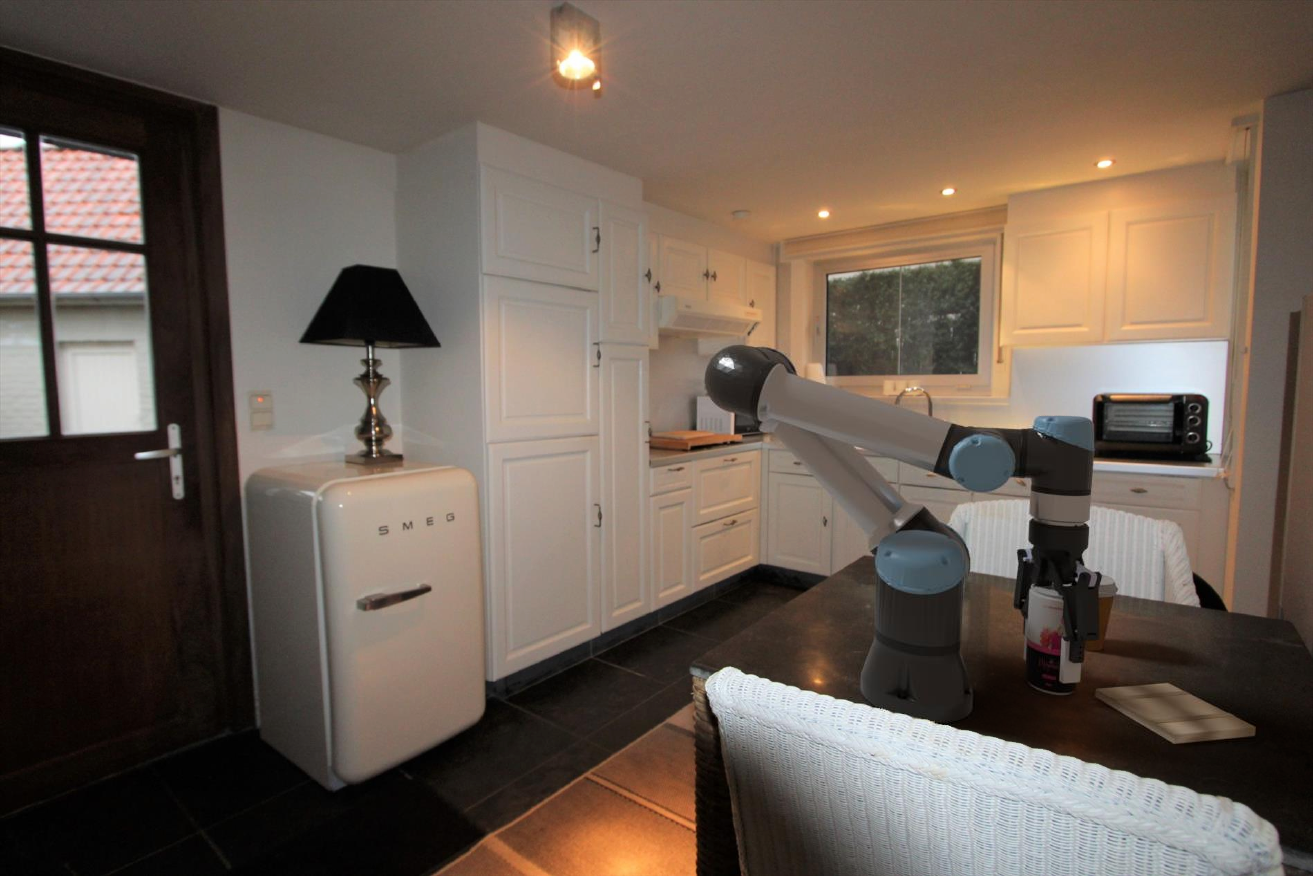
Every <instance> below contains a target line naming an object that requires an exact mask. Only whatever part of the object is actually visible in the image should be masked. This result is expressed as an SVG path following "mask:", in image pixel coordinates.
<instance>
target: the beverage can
mask: <svg viewBox="0 0 1313 876" xmlns="http://www.w3.org/2000/svg"><path fill="white" fill-rule="evenodd" d="M1063 586H1064V585H1063ZM1062 598H1063V596H1060V595H1059V594H1058V592H1056V591H1055V589H1054V585H1053V583H1052V585H1051V586H1043V587H1036V586H1035V584H1032V585H1031V589H1030V590H1029V607H1028V627H1027V646H1026V660H1025V667H1024V670H1025V671H1024V679H1025V681H1026V682H1027V683H1028V684H1029V686H1031V687H1032V688H1034V689H1036V690H1038V691H1040V692H1042V693H1046V694H1049V695H1055V696H1067V695H1070V694H1072V693H1074V692H1075V691H1076V690H1077V682H1074V683H1062V682H1060V681H1059V677H1060V659H1061V641H1062V637H1067V635H1066V630H1065V625H1064V620H1063V603H1064V601H1063V599H1062ZM1075 632H1077V630H1076V631H1075Z"/></svg>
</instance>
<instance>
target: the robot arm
mask: <svg viewBox="0 0 1313 876" xmlns="http://www.w3.org/2000/svg"><path fill="white" fill-rule="evenodd" d="M797 372H798V371H797V369H796V367H795V365H794V364H793V362H792V361H791V360H790V358H788V356H786V355H785V354H783V353H782V352H781V351H778V350H777V349H776V348H775V349H774V348H771V347H769V346H768V347H767V346H753V345H752V346H751V345H746V344H745V345H744V344H734V345H733V344H732V345H729V346H726V347H724V348H722V349H721V350H719V351H717V353H715V354H714V356H712V358H711V359H710V360H709V363H708V364H707V366H706V369H705V373H704V387H705V390H706V392H707V396H708V398H709V399H710V400H711V402H713V404H714V405H715V406H717V407H718V408H719V409H721V410H723V411H725V412H728V413H732V414H736V415H741V416H743V417H746V418H747V419H748V420H750V421H751V423H752V424H753V425H754V426H755V427H756V428H757V429H758V431H759V432H761V433H763V432H764V433H765V432H766V433H772V434H774V436H776V437H777V438H778V440H779V441H780V442H781V443H782V444H783V445H784V446H785V448H787V450H789V452H791V454H792V455H793V456H794V457H795V459H797V460H798V461H799V462H800V463H801V465H802V466H803V467H804V468H805V469H806V470H807V471H808V473H809V474H811V476H812V477H814V479H815V480H816V481H817V482H818V483H819V484H820V485H821V486H822V487H823V489H824V490H825V491H826V492H827V493H828V494H829V495H830V496H831V497H832V499H833V500H835V502H836V503H837V504H838V505H839V506H840V508H842V510H843V511H844V512H846V513H847V515H848V516H849V517H850V518H851V519H852V521H854V522H855V523H856V524H857V526H858V527H859V528H860V529H861V530H862V531H863V532H864V533H865V534H866V535H867V539H868V542H867V545H868V546H867V550H868V551H869V552H870V553H871V554H872V556H874V557H875V558H874V565H875V593H874V594H875V598H874V599H875V601H874V606H875V607H874V632H873V633H874V635H873V636H874V637H873V641H872V644H871V646H870V649H869V651H868V654H867V657H866V659H865V662H864V664H863V668H862V670H861V671H860V672H861V673H860V692H861V694H862V695H863V697H864V698H865V699H866V700H867V701H868V702H869V703H870V704H871V705H872V706H874V707H876V708H877V707H880V708H883V709H886V710H890V711H892V712H899V713H902V714H907V715H910V716H914V717H918V718H921V719H928V720H930V721H935V722H936V723H935V724H946V723H952V722H953V723H954V722H957V721H960V720H963V719H965V718H966V717H968V716H969V715H970V714H971V712H972V710H973V698H974V693H973V688H972V685H971V682H970V678H969V675H968V672H967V668H966V665H965V662H964V658H963V656H962V651H961V648H962V647H961V646H962V630H963V629H962V628H963V603H964V594H965V590H966V589H965V588H966V585H967V584H966V583H967V580H968V578H969V575H970V572H971V559H972V558H971V554H970V551H969V548H968V546H967V543H966V541H965V540H964V538H963V537H962V536H961V534H960V533H959V532H958V531H956V529H954V528H953V527H951V526H950V525H948V524H946V523H944V522H941V521H939V519H938V518H936V516H935V515H934V514H933V513H932V512H931V511H930V510H929V509H928V508H927V507H926V506H925V505H924V504H923V503H912V502H908V501H907V499H905V498H904V497H903V496H902V495H901V494H900V493H899V492H898V491H897V489H895V488H894V487H893V485H891V484H890V483H889V481H888V480H887V479H886V478H885V477H884V476H883V475H882V474H881V473H880V472H879V471H878V470H877V469H876V468H875V467H874V466H873V465H872V463H870V462H869V460H868V459H866V457H865V456H864V455H863V454H862V453H861V452H860V451H859V450H858V449H857V448H859V449H863V450H864V451H865V450H866V451H868V452H872V453H874V454H876V455H880V456H884V457H886V458H890V459H892V460H895V461H898V462H901V463H903V464H907V465H909V466H913V467H917V468H919V469H922V470H924V471H927V472H930V473H933V474H937V475H938V476H941V477H944V478H947V479H949V480H952V481H955V482H956V483H957V484H958V485H960V486H961V487H962V488H964V489H966V490H969V491H971V492H975V493H989V492H993V491H996V490H997V489H999V488H1001V487H1002V486H1004V485H1005V484H1006V483H1007V482H1008V481H1009V479H1011V478H1015V479H1017V478H1018V479H1030V480H1031V481H1030V482H1031V483H1030V484H1031V485H1030V497H1029V508H1028V510H1029V511H1028V514H1029V515H1030V516H1031V517H1032V518H1031V519H1030V520H1028V538H1027V540H1028V542H1029V543H1030V544H1031V546H1032V547H1031V548H1018V549H1017V550H1016V555H1017V563H1018V564H1017V572H1016V578H1015V580H1016V581H1015V587H1014V589H1015V590H1014V597H1013V602H1012V603H1013V605H1012V606H1013V608H1014V609H1015V610H1019V611H1020V613H1021V616H1022V617H1023V626H1022V627H1023V628H1022V634H1023V637H1024V641H1023V642H1024V645H1023V660H1024V661H1026V646H1027V627H1028V607H1029V590H1030V589H1031V585H1032V584H1035V586H1036V587H1043V586H1051V585H1052V583H1053V585H1054V589H1055V591H1056V592H1058V594H1059V595H1060V596H1063V598H1062V599H1063V601H1064V603H1063V620H1064V625H1065V630H1066V635H1067V637H1062V641H1061V659H1060V677H1059V681H1060V682H1062V683H1074V682H1076V683H1081V671H1082V664H1083V663H1084V661H1085V651H1086V650H1085V643H1086V642H1088V641H1098V640H1099V638H1100V637H1099V585H1100V582H1101V579H1102V575H1103V574H1102V573H1101V572H1100V571H1092V570H1091V569H1089V568H1087V567H1086V566H1085V562H1084V558H1083V554H1084V552H1085V551H1086V550H1088V548H1089V540H1090V526H1089V525H1088V524H1087V523H1086V522H1089V520H1091V502H1092V501H1091V499H1092V485H1093V484H1092V483H1093V472H1094V458H1095V451H1096V449H1095V425H1094V422H1093V421H1092V420H1091V418H1088V417H1085V416H1079V415H1077V416H1075V415H1074V416H1073V415H1039V416H1037V417H1035V419H1034V420H1033V425H1032V427H1031V428H1029V427H1028V428H1027V427H1026V428H1003V427H982V426H981V427H980V426H978V427H977V426H972V425H968V426H965V425H961V424H957V423H954V422H950V421H947V420H944V419H940V418H937V417H934V416H931V415H927V414H925V413H922V412H918V411H915V410H910V409H908V408H905V407H901V406H898V405H894V404H891V403H888V402H885V401H881V400H878V399H875V398H872V397H869V396H865V395H862V394H859V393H856V392H852V391H848V390H846V389H842V388H838V387H836V386H833V385H828V384H827V383H826V384H825V383H822V382H819V381H817V380H814V379H810V378H806V377H802V376H800V375H798V373H797ZM1101 574H1102V575H1101ZM1067 584H1071V586H1063V585H1067ZM1076 630H1077V632H1075V631H1076Z"/></svg>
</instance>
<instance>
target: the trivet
mask: <svg viewBox="0 0 1313 876" xmlns="http://www.w3.org/2000/svg"><path fill="white" fill-rule="evenodd" d="M1094 696H1095V698H1097V699H1098V700H1101V702H1104V703H1105V704H1106V705H1108V706H1110V707H1112V708H1113V709H1115V710H1117V711H1118V712H1120V713H1121V714H1123V715H1125V716H1126V717H1128V718H1130V719H1132V720H1134V721H1135V722H1137V723H1139V725H1142V726H1144V727H1146V728H1147V729H1149V730H1150V731H1152V732H1154V733H1155V734H1157V735H1159V736H1161V737H1162V738H1164V739H1165V740H1167V741H1169V742H1171V743H1172V744H1186V743H1187V744H1188V743H1195V742H1205V741H1206V742H1207V741H1215V740H1216V741H1217V740H1225V739H1227V740H1228V739H1238V738H1246V737H1247V738H1248V737H1255V735H1256V726H1255V725H1252V724H1250V723H1248V722H1246V721H1244V720H1242V719H1241V718H1238V717H1237V716H1236V715H1234V714H1232V713H1230V712H1226V711H1224V710H1223V709H1221V708H1219V707H1217V706H1214V705H1212V704H1211V703H1208V702H1207V701H1204V700H1202V699H1201V698H1199V697H1197V696H1194V695H1192V694H1191V692H1190V693H1189V692H1187V691H1186V690H1182V689H1180V688H1179V687H1176V686H1175V685H1173V684H1171V683H1169V682H1165V683H1154V684H1153V683H1152V684H1151V683H1150V684H1141V685H1140V684H1139V685H1128V686H1115V687H1104V688H1102V687H1101V688H1095V695H1094Z"/></svg>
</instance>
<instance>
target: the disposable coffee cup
mask: <svg viewBox="0 0 1313 876" xmlns="http://www.w3.org/2000/svg"><path fill="white" fill-rule="evenodd" d="M1101 575H1102V579H1101V582H1100V585H1099V637H1100V638H1099V640H1098V641H1088V642H1086V643H1085V651H1093V652H1094V651H1095V652H1096V651H1101V650H1102V649H1104V643H1105V639H1106V634H1107V629H1108V625H1109V620H1110V617H1111V613H1112V612H1111V611H1112V607H1113V604H1114V598H1115V595H1116V593H1118V590H1119V588H1118V587H1117V586H1116V580H1115V579H1114V578H1111V577H1109V576H1107V575H1105V574H1102V573H1101ZM1064 586H1071V584H1067V585H1064Z"/></svg>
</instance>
